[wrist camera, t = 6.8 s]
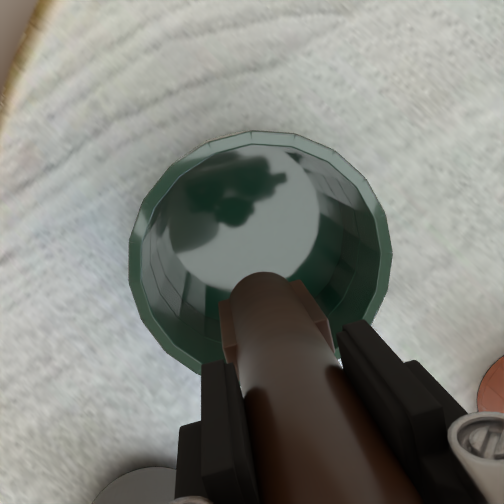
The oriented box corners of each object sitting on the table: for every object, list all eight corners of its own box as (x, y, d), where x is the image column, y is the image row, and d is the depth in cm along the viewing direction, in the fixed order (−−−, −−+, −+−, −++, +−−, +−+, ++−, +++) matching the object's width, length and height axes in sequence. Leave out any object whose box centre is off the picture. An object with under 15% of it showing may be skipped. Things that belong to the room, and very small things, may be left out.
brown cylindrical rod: (230, 346, 18) (283, 722, 6) (212, 283, 17) (234, 577, 6) (311, 324, 18) (503, 653, 7) (296, 260, 18) (481, 503, 6)
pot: (180, 351, 30) (172, 414, 23) (120, 162, 27) (90, 171, 20) (365, 301, 30) (410, 349, 24) (326, 108, 27) (365, 100, 21)
